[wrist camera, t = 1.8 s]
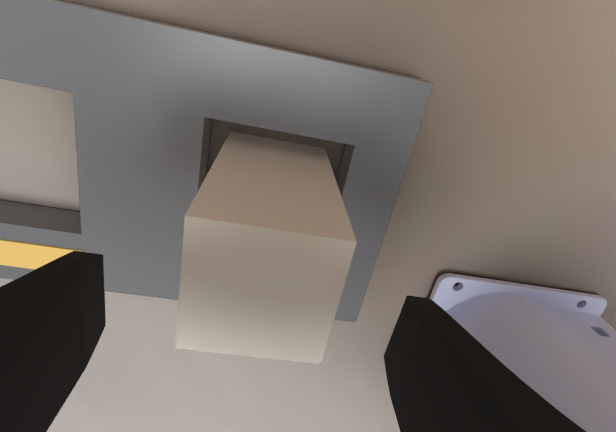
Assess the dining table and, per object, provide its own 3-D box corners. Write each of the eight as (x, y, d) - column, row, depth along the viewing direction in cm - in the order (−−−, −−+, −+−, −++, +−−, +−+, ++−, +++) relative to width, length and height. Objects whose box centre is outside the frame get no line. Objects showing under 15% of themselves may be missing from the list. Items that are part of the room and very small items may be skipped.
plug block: (325, 148, 16) (356, 242, 9) (306, 230, 18) (320, 364, 11) (230, 131, 16) (184, 216, 8) (220, 216, 17) (175, 348, 10)
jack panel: (418, 77, 15) (434, 83, 13) (349, 298, 20) (355, 323, 18) (-158, -48, 12) (-229, -61, 11) (-81, 240, 17) (-121, 264, 15)
